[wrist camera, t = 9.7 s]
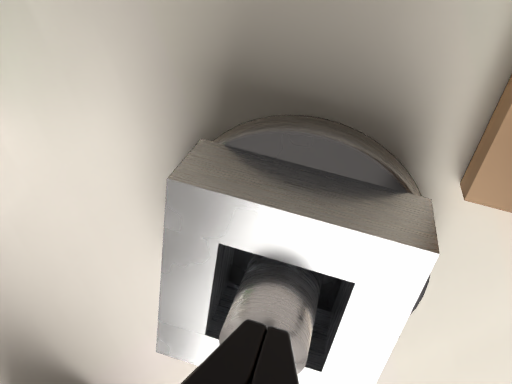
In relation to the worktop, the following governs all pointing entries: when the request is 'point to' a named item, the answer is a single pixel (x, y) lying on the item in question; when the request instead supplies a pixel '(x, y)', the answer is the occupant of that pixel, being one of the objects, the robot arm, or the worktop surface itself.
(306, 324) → the hub
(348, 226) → the collar
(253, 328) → the robot arm
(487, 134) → the stand
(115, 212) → the worktop surface
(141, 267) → the worktop surface
